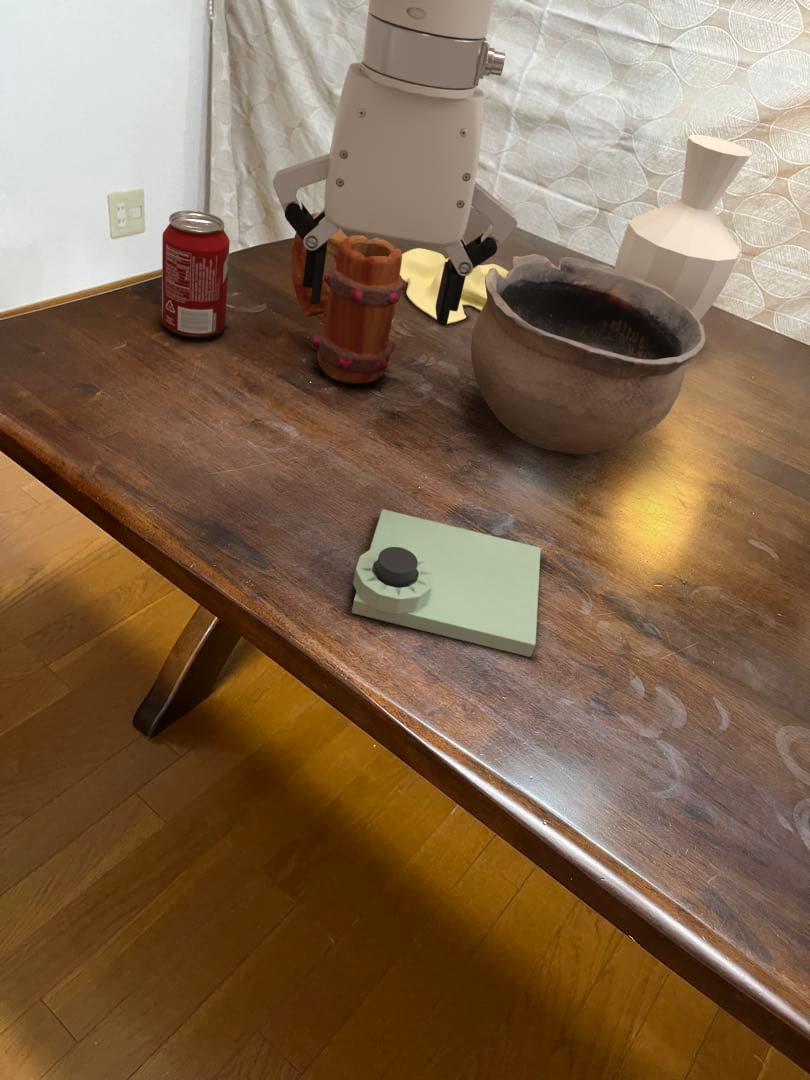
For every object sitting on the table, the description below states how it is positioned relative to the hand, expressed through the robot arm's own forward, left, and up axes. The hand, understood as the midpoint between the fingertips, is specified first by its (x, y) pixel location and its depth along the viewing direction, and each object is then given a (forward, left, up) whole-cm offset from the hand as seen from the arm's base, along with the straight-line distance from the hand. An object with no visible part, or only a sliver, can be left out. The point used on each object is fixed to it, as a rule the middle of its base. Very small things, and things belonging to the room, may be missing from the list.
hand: (378, 307), depth 66 cm
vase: (+30, +51, -18) cm, 62 cm away
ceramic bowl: (+18, +21, -18) cm, 33 cm away
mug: (-7, +24, -18) cm, 30 cm away
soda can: (-23, +24, -18) cm, 37 cm away
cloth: (+4, +52, -18) cm, 55 cm away
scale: (+10, -8, -18) cm, 23 cm away
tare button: (+6, -12, -15) cm, 20 cm away
